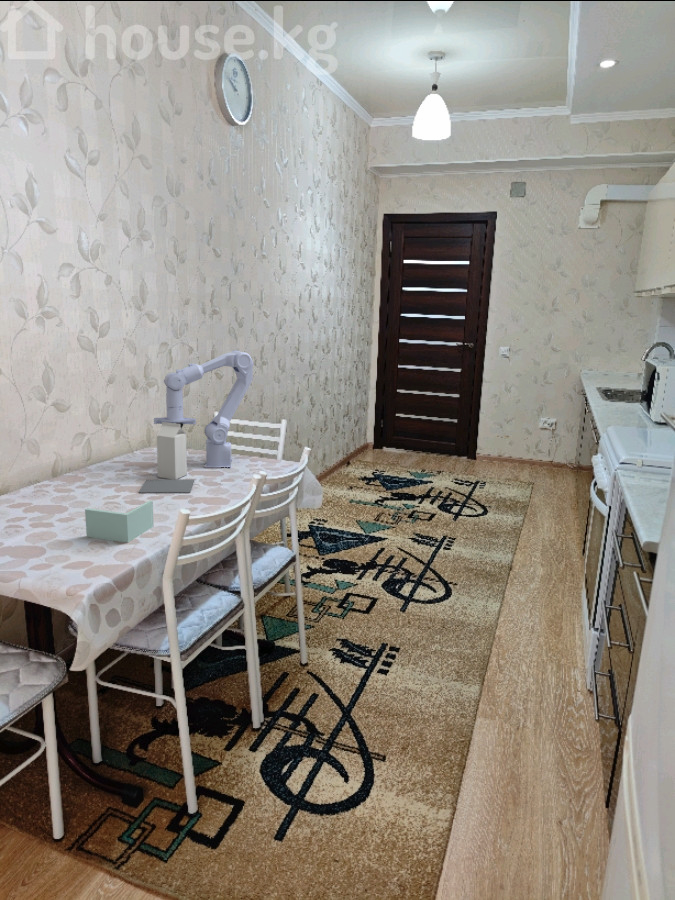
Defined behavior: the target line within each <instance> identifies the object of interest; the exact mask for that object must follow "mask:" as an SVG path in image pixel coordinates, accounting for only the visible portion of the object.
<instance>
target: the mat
mask: <svg viewBox="0 0 675 900" xmlns="http://www.w3.org/2000/svg"><path fill="white" fill-rule="evenodd" d="M194 480H195V479H186V478H184V479H180V478H178V479H166V478H160V479H159V478H157V479H155V478H154V479H153V478H152V479H148V478H147V479H145V481H144V483H143V484H142V486H141V487H140V489H139V491H138V492H137V493H138V494H191V491H192V489H193V486H194V484H193V483H195V481H194Z"/></svg>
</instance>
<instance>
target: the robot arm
mask: <svg viewBox="0 0 675 900" xmlns="http://www.w3.org/2000/svg"><path fill="white" fill-rule="evenodd" d="M253 366H254V361H253V359H252V357H251V355H250V354H249V353H248V352H245V351H240V350H237V349H236V350H232V351H229V352H225V353H223V354H220V355H218V356H216V357H214V358H213V359H210V360H208V361H206V362H204V363H202V364H198V363H191V362H190V363H188V364H187V366H186V367H183V368H181V369H175V371H174V372H168V373H167V374H166V375H165V378H164V379H163V383H164V385H165V386H166V389H165V390H166V391H165V392H166V394H165V398H166V399H165V400H166V402H165V403H166V406H165V407H166V417H154V419H153V424H154V425H162V422H166V423H175V424H180V427H181V428H182V429H183V426H184V425H192V426H193V425H194V426H195V425H196V424H197V418H191V417H184V394H183V388H184V387H185V386H187V385H189V384H192V383H194V382H196V381H199V380H200V379H203V376H204V374H207V373H208V372H211V371H214V370H217V369H220V368H221V367H222V368H223V367H230V368H232V369H233V370H234V372H235V375H236V380H235V382H234V383H233V386H232V388H231V389H230V391H229V393H228V394H227V397H226V398H225V400H224V402H223V404H222V406H221V407H220V409H219V411H218V412H217V415H215V416H214V417H213V418H212V420H211V421H210V422H209V423H207V425H206V426H205V427H204V434H205V436H206V437H207V438H206V439H205V441H206V442H205V445H206V446H205V452H206V454H205V455H206V458H205V459H206V461H205V465H204V468H213V469H214V468H217V469H218V468H221V467H224V468H225V467H227V469H229V468H228V467H230V468H231V466H232V462H233V457H232V442H229V441H227V438H228V434H229V430H230V429H231V427H230V426H231V425H230V423H231V420H232V419H233V417H234V415H235V413H236V411H237V410H238V408H239V406H240V404H241V402H242V400H243V398H244V397H245V394H246V393H247V391H248V389H249V388H250V386H251V384H252V382H253V371H254V370H253V368H254V367H253ZM224 468H223V469H224ZM221 469H222V468H221Z"/></svg>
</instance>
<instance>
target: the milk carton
mask: <svg viewBox="0 0 675 900" xmlns="http://www.w3.org/2000/svg"><path fill="white" fill-rule="evenodd" d="M156 452H157V453H156V455H157V478H160V479H180V478H183V477H185V476H187V475H188V466H187V465H188V463H187V461H188V460H187V459H188V458H187V433H186V432H185V431H184V429H183V427H182V428H181V427H180V424H175V423H166V422H162V424H161V427H160V429H159V430H158V432H157V434H156Z"/></svg>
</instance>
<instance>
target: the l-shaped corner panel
mask: <svg viewBox="0 0 675 900" xmlns="http://www.w3.org/2000/svg"><path fill="white" fill-rule="evenodd" d="M153 502H154V500H148V501H146V502H145V503H142V504H140V505H139V506H136V508H134V509H131V510H130V511H128V512H119V511H113V510H112V511H111V510H104V509H96V508H88V507H87V508H85V509H84V515H85V517H84V518H85V529H86V531H85V532H86V533H85V534H86V537H87V538H94V539H98V540H99V539H101V540H107V541H114V542H120V543H130V542H132V541H133V540H134V539H136V538H138V537H139V536H141V535H142V534H144V533H146V532H147V531H149V530H151V529H152V528H154V527H155V526H154V523H155V522H154V503H153Z"/></svg>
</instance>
